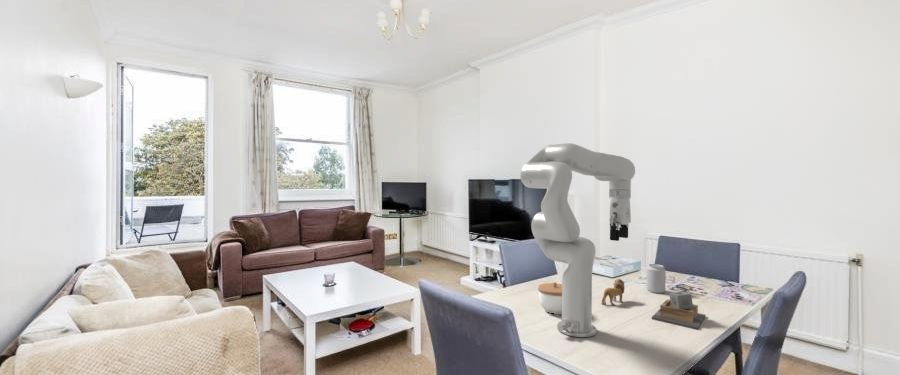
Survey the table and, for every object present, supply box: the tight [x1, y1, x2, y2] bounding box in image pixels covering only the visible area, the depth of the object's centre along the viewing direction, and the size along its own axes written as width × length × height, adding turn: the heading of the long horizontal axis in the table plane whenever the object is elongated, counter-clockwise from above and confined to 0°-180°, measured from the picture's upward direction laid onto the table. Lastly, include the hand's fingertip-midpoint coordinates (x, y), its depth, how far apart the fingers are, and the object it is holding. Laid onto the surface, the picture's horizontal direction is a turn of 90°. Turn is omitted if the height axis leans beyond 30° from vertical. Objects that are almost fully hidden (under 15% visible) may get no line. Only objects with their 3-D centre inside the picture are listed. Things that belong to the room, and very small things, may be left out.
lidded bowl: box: [537, 281, 562, 315], centre depth 144 cm, size 13×13×11 cm
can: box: [645, 263, 666, 294], centre depth 169 cm, size 8×8×12 cm
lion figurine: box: [601, 278, 625, 306], centre depth 153 cm, size 15×5×9 cm, turn 133°
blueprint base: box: [651, 299, 706, 330], centre depth 137 cm, size 16×14×5 cm
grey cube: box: [668, 290, 694, 309], centre depth 136 cm, size 5×5×5 cm
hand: (619, 238), depth 143 cm, fingers open, 9 cm apart
